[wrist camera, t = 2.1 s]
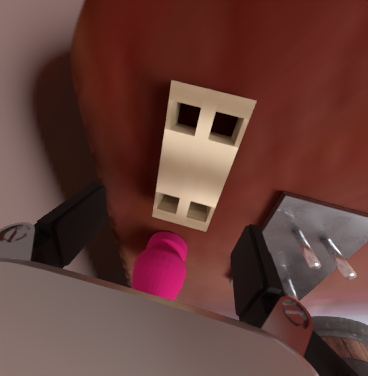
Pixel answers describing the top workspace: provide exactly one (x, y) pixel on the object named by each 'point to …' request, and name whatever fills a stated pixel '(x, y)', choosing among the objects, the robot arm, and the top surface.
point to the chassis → (311, 241)
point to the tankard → (345, 340)
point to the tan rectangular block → (197, 155)
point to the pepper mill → (161, 266)
